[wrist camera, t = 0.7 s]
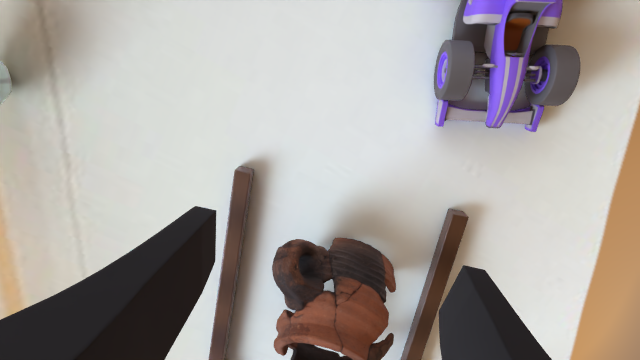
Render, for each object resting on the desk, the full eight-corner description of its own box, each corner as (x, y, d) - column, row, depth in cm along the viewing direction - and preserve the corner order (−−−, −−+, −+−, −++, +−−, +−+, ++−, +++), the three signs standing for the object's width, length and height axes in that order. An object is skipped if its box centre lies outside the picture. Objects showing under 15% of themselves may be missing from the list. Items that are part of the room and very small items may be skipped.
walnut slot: (398, 412, 34) (400, 426, 33) (208, 375, 34) (202, 388, 33) (465, 211, 29) (471, 218, 27) (237, 165, 29) (232, 170, 27)
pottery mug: (423, 285, 31) (414, 392, 26) (334, 299, 37) (311, 389, 31) (337, 189, 26) (302, 297, 20) (248, 223, 32) (202, 314, 26)
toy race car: (413, 123, 27) (436, 139, 21) (443, -126, 23) (483, -200, 17) (549, 130, 27) (614, 149, 21) (605, -121, 23) (707, -193, 16)
